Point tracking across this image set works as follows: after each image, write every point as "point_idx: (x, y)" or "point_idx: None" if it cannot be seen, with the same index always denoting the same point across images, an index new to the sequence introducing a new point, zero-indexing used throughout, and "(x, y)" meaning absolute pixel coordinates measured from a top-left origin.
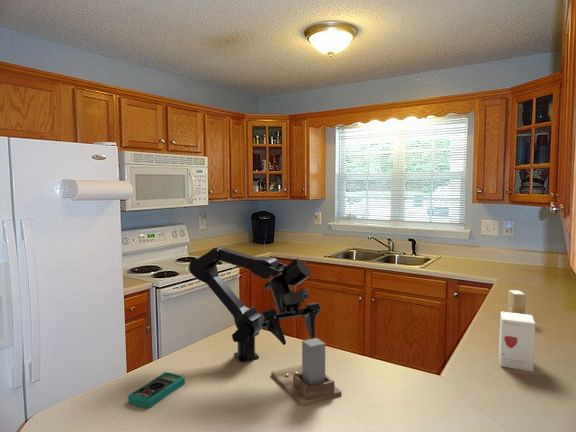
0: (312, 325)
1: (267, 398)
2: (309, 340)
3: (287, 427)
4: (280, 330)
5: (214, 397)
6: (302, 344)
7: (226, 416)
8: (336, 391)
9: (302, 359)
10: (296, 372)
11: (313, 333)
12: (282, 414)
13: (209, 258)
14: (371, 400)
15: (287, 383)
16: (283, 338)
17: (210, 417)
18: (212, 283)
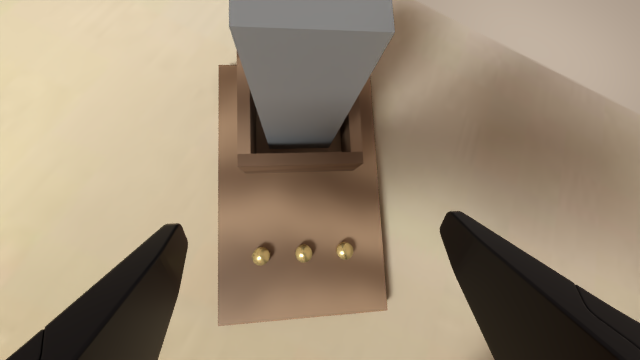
0: (66, 338)
1: (442, 157)
2: (328, 5)
3: (436, 11)
4: (572, 302)
5: (581, 230)
6: (381, 50)
7: (561, 121)
8: (235, 72)
9: (351, 104)
10: (304, 250)
11: (149, 250)
12: (429, 64)
13: None
14: (152, 5)
15: (364, 195)
16: (487, 235)
17: (597, 134)
18: None
